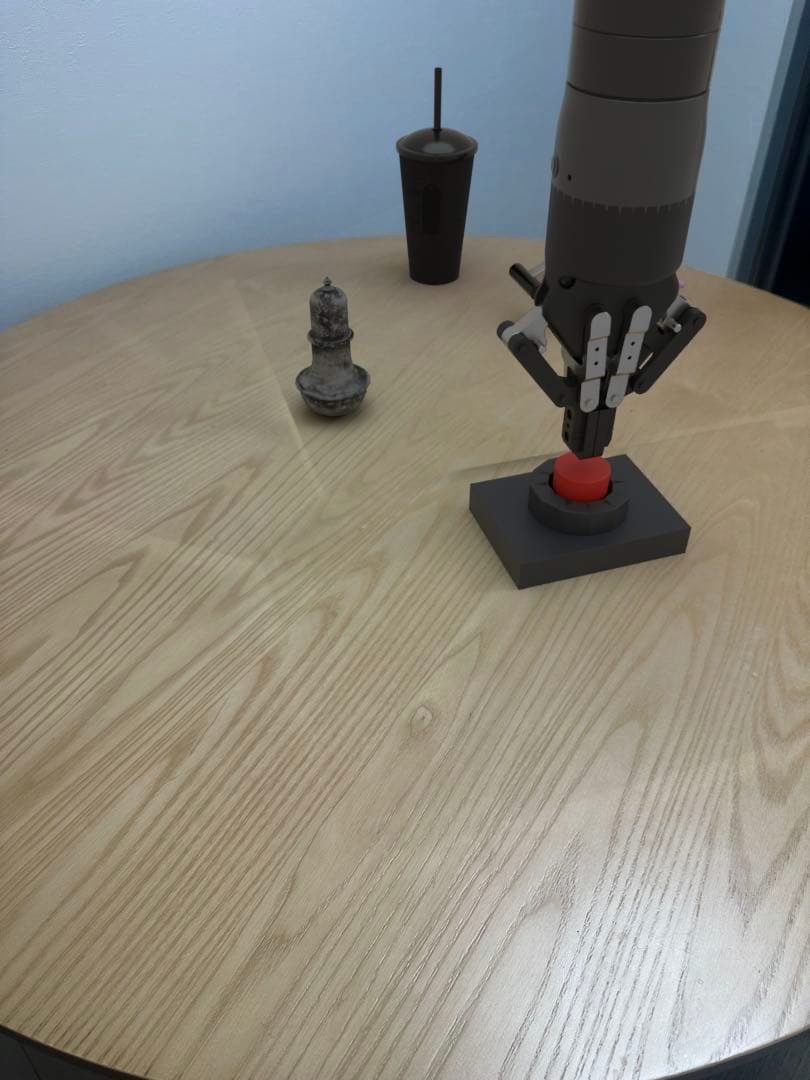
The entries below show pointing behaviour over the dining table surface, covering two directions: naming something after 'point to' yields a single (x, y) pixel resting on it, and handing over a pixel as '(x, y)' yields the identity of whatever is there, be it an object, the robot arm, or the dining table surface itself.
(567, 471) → the button
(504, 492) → the button box
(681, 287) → the earpods
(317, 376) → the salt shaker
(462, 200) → the drinking cup
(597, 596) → the dining table surface
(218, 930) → the dining table surface
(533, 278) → the press lever
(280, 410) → the dining table surface
